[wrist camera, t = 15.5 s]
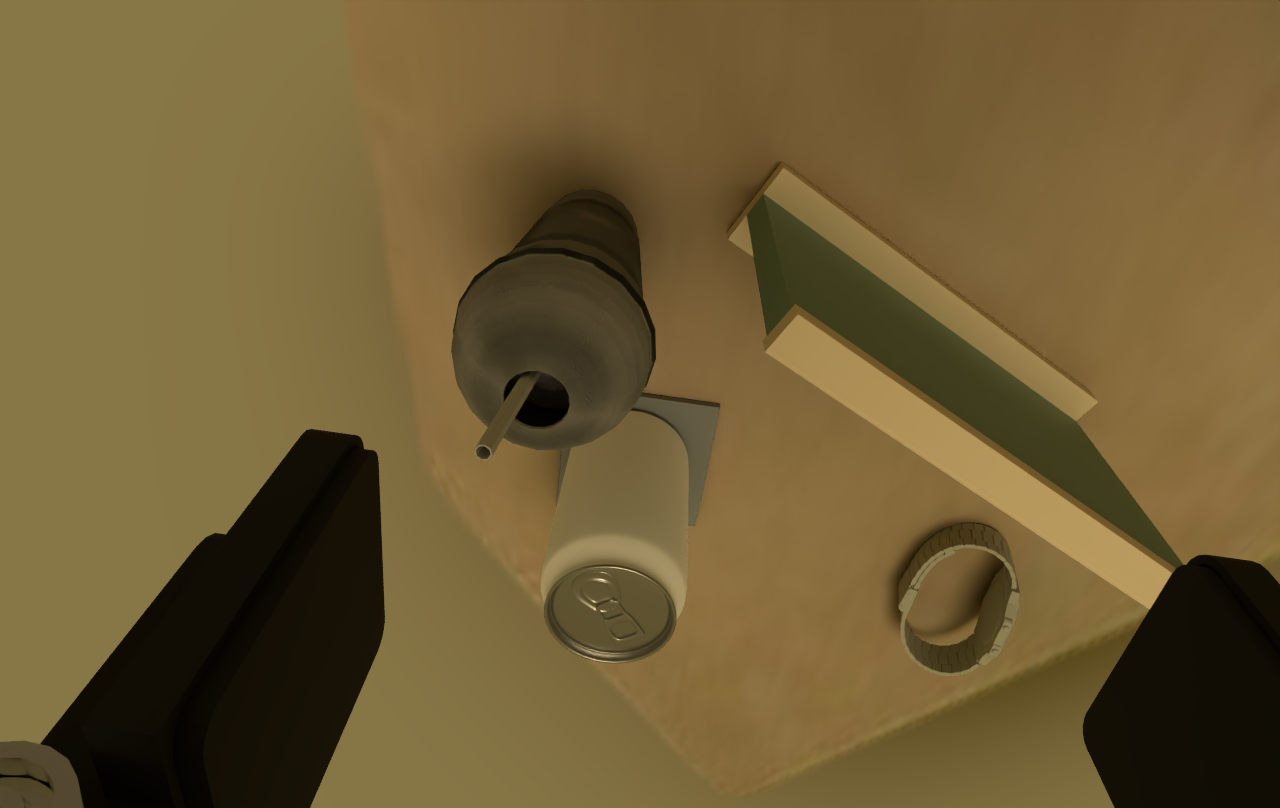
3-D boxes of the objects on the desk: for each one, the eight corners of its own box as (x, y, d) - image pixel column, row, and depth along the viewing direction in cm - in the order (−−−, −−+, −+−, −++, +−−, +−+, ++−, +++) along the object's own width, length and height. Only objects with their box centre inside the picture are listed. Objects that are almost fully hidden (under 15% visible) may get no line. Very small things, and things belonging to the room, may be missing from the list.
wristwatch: (968, 640, 51) (993, 705, 47) (869, 622, 51) (885, 687, 47) (1029, 526, 47) (1063, 588, 42) (921, 506, 46) (944, 567, 42)
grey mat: (719, 404, 44) (719, 407, 43) (695, 522, 48) (695, 526, 47) (569, 382, 43) (568, 386, 43) (557, 502, 48) (556, 507, 47)
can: (656, 388, 43) (644, 537, 33) (708, 480, 46) (711, 646, 35) (548, 432, 45) (504, 587, 34) (605, 518, 47) (579, 686, 37)
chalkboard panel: (727, 232, 39) (741, 379, 27) (781, 161, 37) (823, 284, 25) (1029, 444, 44) (1159, 651, 31) (1090, 391, 42) (1253, 589, 30)
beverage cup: (564, 330, 42) (473, 618, 25) (484, 205, 39) (316, 434, 22) (693, 268, 40) (691, 535, 23) (619, 130, 37) (551, 319, 20)
